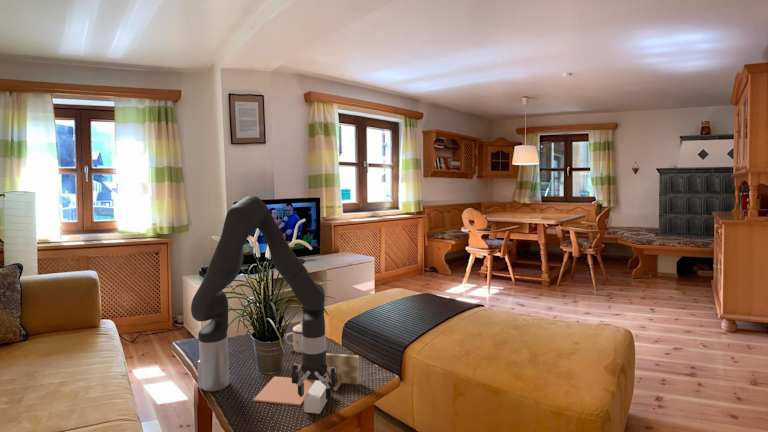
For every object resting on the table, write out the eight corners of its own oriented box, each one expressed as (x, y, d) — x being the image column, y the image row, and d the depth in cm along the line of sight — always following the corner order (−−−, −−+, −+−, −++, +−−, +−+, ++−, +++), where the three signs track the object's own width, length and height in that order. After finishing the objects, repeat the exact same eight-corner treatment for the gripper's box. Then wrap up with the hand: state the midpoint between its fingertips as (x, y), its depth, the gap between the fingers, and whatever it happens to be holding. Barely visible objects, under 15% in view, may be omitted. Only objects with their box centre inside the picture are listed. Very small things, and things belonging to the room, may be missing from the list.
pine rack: (297, 388, 151) (296, 360, 149) (305, 378, 158) (304, 351, 157) (354, 393, 147) (353, 364, 146) (359, 382, 154) (358, 355, 153)
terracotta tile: (253, 401, 142) (253, 399, 142) (274, 377, 158) (274, 376, 158) (300, 405, 139) (300, 404, 139) (316, 381, 155) (316, 380, 155)
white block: (304, 412, 136) (303, 397, 135) (315, 394, 147) (315, 380, 146) (319, 414, 135) (319, 398, 135) (330, 395, 146) (330, 381, 145)
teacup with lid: (314, 343, 188) (314, 317, 187) (315, 352, 180) (314, 324, 178) (286, 345, 186) (285, 319, 185) (285, 354, 177) (284, 327, 176)
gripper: (287, 351, 134) (288, 401, 136) (332, 354, 132) (333, 405, 134) (296, 341, 141) (297, 388, 143) (339, 344, 139) (339, 392, 141)
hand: (314, 396), depth 138 cm, fingers open, 8 cm apart
